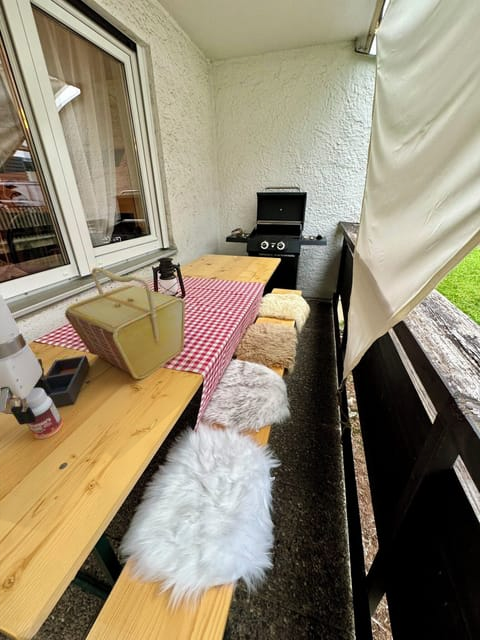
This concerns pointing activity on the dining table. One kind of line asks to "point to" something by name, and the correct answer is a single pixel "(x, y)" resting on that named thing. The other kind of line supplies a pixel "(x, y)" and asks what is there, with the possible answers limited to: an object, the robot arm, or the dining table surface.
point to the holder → (67, 379)
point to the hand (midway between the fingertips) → (37, 407)
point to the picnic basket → (130, 325)
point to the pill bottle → (43, 414)
